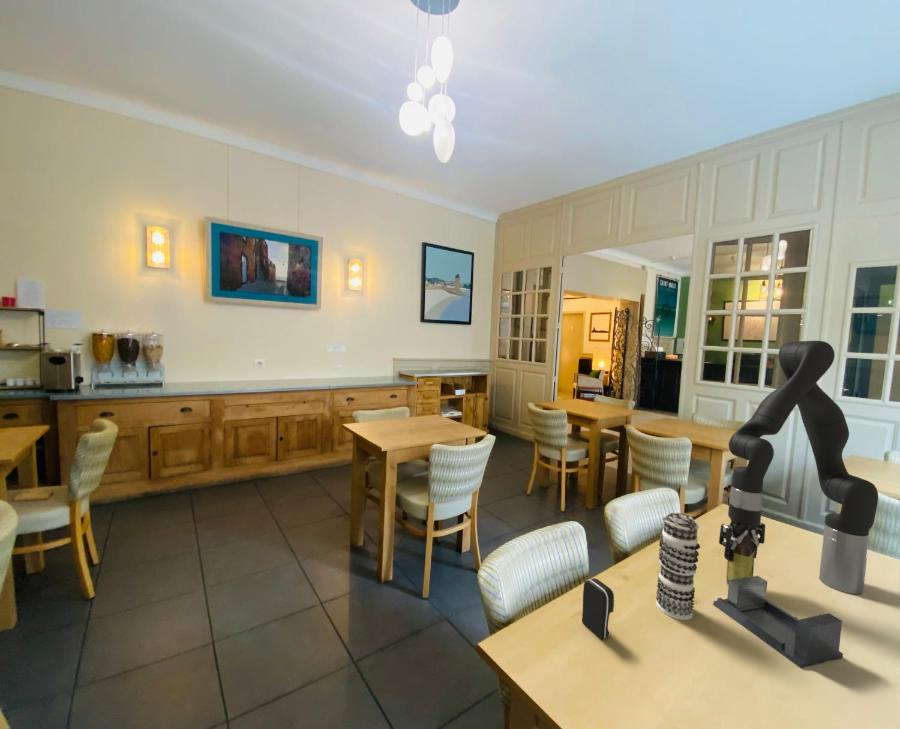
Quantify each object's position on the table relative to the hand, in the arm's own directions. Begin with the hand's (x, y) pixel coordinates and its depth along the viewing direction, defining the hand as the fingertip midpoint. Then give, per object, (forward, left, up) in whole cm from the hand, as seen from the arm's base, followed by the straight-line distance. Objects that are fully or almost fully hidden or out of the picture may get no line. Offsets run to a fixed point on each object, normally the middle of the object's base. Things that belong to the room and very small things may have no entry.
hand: (740, 558), depth 114 cm
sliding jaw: (+8, +9, -7) cm, 14 cm away
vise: (+8, +16, -8) cm, 20 cm away
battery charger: (+52, +6, -8) cm, 53 cm away
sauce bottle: (0, 0, -8) cm, 8 cm away
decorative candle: (+27, +4, -8) cm, 29 cm away
